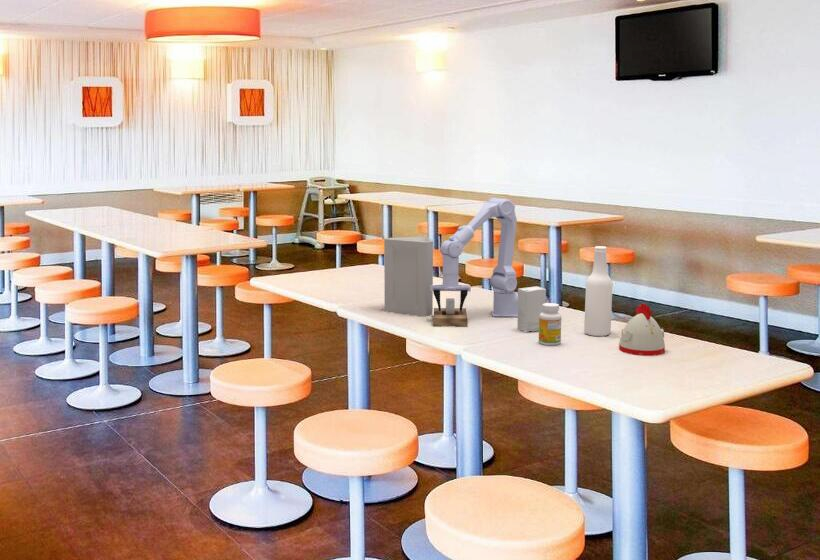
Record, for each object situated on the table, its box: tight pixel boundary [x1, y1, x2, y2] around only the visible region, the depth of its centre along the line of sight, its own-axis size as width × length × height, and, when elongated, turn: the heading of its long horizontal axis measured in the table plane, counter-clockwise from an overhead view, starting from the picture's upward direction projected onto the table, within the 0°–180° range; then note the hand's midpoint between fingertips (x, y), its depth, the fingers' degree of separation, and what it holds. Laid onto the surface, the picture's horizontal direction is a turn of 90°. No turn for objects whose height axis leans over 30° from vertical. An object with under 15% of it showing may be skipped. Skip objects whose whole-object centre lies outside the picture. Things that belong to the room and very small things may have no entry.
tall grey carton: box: [383, 236, 434, 317], centre depth 330 cm, size 19×15×28 cm
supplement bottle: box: [538, 302, 562, 346], centre depth 281 cm, size 7×7×13 cm
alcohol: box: [583, 245, 613, 337], centre depth 293 cm, size 9×9×30 cm
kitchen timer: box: [618, 302, 666, 357], centre depth 272 cm, size 14×14×15 cm
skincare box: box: [517, 285, 547, 333], centre depth 299 cm, size 8×6×15 cm
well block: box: [433, 307, 469, 328], centre depth 314 cm, size 12×18×3 cm, turn 178°
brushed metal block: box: [445, 297, 456, 315], centre depth 314 cm, size 3×5×8 cm, turn 178°
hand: (450, 310), depth 314 cm, fingers open, 7 cm apart
